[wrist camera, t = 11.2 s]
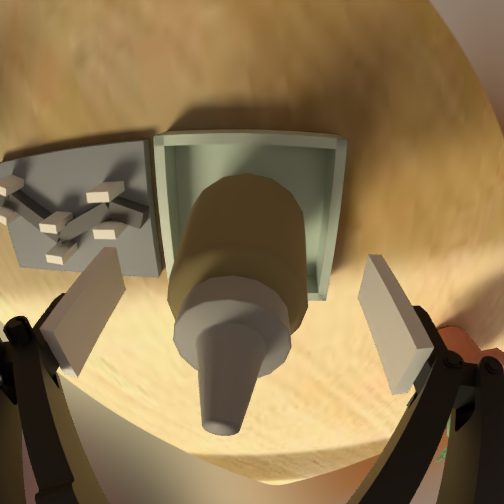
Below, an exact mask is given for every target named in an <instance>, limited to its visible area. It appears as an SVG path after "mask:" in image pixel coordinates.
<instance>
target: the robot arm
mask: <svg viewBox="0 0 504 504" xmlns="http://www.w3.org/2000/svg"><path fill="white" fill-rule="evenodd" d="M125 290H126V288H125V284H124V280H123V276H122V272H121V267H120V263H119V259H118V254H117V249H116V247H103V249H102V250H101V251H100V252H99V253H98V254H97V256H96V257H95V258H94V259H93V260H92V261H91V263H90V264H89V265H88V266H87V267H86V269H85V270H84V271H83V272H82V273H81V275H80V276H79V277H78V278H77V280H76V281H75V282H74V283H73V285H72V286H71V287H70V288H69V290H68V291H67V292H66V293H62V294H61V295H59V296H58V297H57V298H55V299H54V300H53V302H52V303H51V304H50V306H49V307H48V308H47V310H46V311H45V313H44V314H43V315H42V316H41V318H40V319H39V320H38V322H37V323H36V324H35V326H34V327H33V328H32V327H31V325H30V323H29V321H28V319H27V318H26V317H25V316H17V317H14V318H12V319H10V320H9V321H8V322H7V323H6V325H5V326H4V329H3V331H4V333H5V335H6V337H7V338H8V340H9V342H2V340H1V338H0V504H26V498H25V490H24V478H23V462H22V430H23V434H24V439H25V443H26V446H27V451H28V455H29V458H30V462H31V465H32V469H33V472H34V475H35V478H36V482H37V485H38V488H39V492H38V493H37V494H35V501H36V504H110V503H109V502H108V500H107V498H106V496H105V495H104V493H103V490H102V489H101V487H100V485H99V482H98V480H97V478H96V477H95V474H94V472H93V470H92V468H91V465H90V463H89V461H88V459H87V456H86V454H85V452H84V449H83V447H82V444H81V442H80V439H79V437H78V434H77V431H76V429H75V426H74V423H73V420H72V418H71V415H70V412H69V409H68V406H67V402H66V399H65V396H64V393H63V389H62V386H61V382H60V379H59V376H58V374H57V372H56V371H57V369H58V367H59V366H60V368H61V369H62V371H63V373H64V374H65V375H69V376H73V377H77V378H78V376H79V374H80V372H81V370H82V368H83V366H84V364H85V362H86V360H87V358H88V356H89V355H90V353H91V351H92V349H93V347H94V345H95V343H96V341H97V339H98V338H99V336H100V334H101V332H102V330H103V328H104V327H105V325H106V323H107V321H108V319H109V318H110V316H111V314H112V312H113V311H114V309H115V307H116V305H117V304H118V302H119V300H120V298H121V297H122V295H123V293H124V292H125ZM358 299H359V302H360V305H361V307H362V310H363V312H364V315H365V318H366V320H367V323H368V326H369V328H370V331H371V334H372V337H373V339H374V342H375V345H376V348H377V351H378V354H379V356H380V359H381V362H382V365H383V368H384V371H385V374H386V377H387V380H388V383H389V387H390V390H391V393H392V395H394V394H401V393H408V392H409V390H410V388H411V387H412V385H413V384H414V387H415V389H416V392H415V393H414V395H413V397H412V398H411V399H410V401H409V402H408V404H407V406H408V407H407V409H406V411H405V413H404V415H403V417H402V418H401V420H400V422H399V424H398V426H397V428H396V429H395V431H394V433H393V435H392V436H391V438H390V440H389V442H388V443H387V445H386V447H385V448H384V450H383V451H382V453H381V455H380V456H379V458H378V460H377V461H376V463H375V464H374V466H373V467H372V469H371V470H370V472H369V473H368V475H367V476H366V478H365V479H364V480H363V482H362V483H361V485H360V486H359V488H358V489H357V490H356V492H355V493H354V494H353V496H352V497H351V498H350V500H349V501H348V502H347V504H409V503H410V502H411V500H412V498H413V496H414V494H415V493H416V491H417V489H418V487H419V485H420V483H421V481H422V479H423V477H424V475H425V473H426V471H427V469H428V467H429V464H430V463H431V461H432V459H433V456H434V454H435V452H436V450H437V447H438V445H439V443H440V440H441V438H442V435H443V433H444V430H445V428H446V425H447V422H448V420H449V417H450V414H451V420H450V430H449V438H448V446H447V453H446V459H445V466H444V471H443V476H442V481H441V485H440V490H439V495H438V499H437V503H436V504H504V369H503V366H502V364H501V363H500V361H499V360H497V359H496V358H494V357H492V356H485V357H483V358H482V359H481V360H480V362H479V363H478V364H474V363H467V362H464V360H463V358H462V357H461V356H460V355H459V354H458V353H456V352H454V351H451V350H448V349H447V347H446V345H445V343H444V341H443V339H442V338H441V336H440V334H439V332H438V330H437V329H436V328H435V325H434V323H433V322H432V320H431V318H430V316H429V315H428V313H427V312H426V311H425V310H424V309H423V308H422V307H420V306H412V305H411V303H410V301H409V300H408V298H407V296H406V294H405V293H404V291H403V289H402V288H401V286H400V284H399V282H398V281H397V279H396V277H395V276H394V274H393V273H392V271H391V269H390V268H389V266H388V264H387V263H386V261H385V260H384V258H383V256H382V255H372V254H368V257H367V262H366V266H365V270H364V275H363V279H362V283H361V287H360V291H359V295H358Z"/></svg>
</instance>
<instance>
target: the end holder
mask: <svg viewBox="0 0 504 504" xmlns="http://www.w3.org/2000/svg"><path fill="white" fill-rule="evenodd" d="M153 139H154V157H155V171H156V184H157V195H158V205H159V215H160V224H161V233H162V241H163V249H164V256H165V264H166V271H167V277H168V284H169V277H170V274H171V270H172V267H173V264H174V260H175V257H176V254H177V250H178V247H179V244H180V241H181V238H182V235H183V231H184V228H185V225H186V222H187V219H188V216H189V213H190V210H191V208H192V206H193V205H194V203H195V202H196V200H197V198H198V197H199V195H200V194H201V192H202V191H203V190H204V189H205V188H207V187H208V186H210V185H211V184H213V183H215V182H216V181H218V180H219V179H221V178H222V177H227V176H233V175H239V174H245V173H249V174H254V175H258V176H263V177H267V178H271V179H273V180H274V181H276V182H277V183H279V184H280V185H281V186H283V187H284V188H286V189H287V190H288V191H290V192H291V193H292V195H293V196H294V198H295V200H296V201H297V203H298V205H299V206H300V208H301V210H302V211H303V217H304V226H305V236H306V259H307V291H308V300H314V301H326V297H327V292H328V286H329V281H330V275H331V269H332V263H333V257H334V250H335V244H336V237H337V230H338V223H339V216H340V208H341V200H342V192H343V183H344V174H345V164H346V153H347V141H348V139H346V138H344V137H342V136H340V135H338V134H328V133H316V132H302V131H285V130H257V129H209V130H181V131H166V132H163V133H160V134H158V135H155V136H153Z"/></svg>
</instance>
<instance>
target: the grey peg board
mask: <svg viewBox="0 0 504 504" xmlns="http://www.w3.org/2000/svg"><path fill="white" fill-rule="evenodd" d="M0 207H1V208H0V223H2V224H5V225H7V226H8V230H9V233H10V237H11V240H12V244H13V247H14V250H15V253H16V257H17V260H18V263H19V266H20V267H24V268H35V269H46V270H58V271H70V272H83V271H84V270H85V269H86V267H87V266H88V265H89V264H90V263H91V261H92V260H93V259H94V258H95V257H96V256H97V254H98V253H99V252H100V251H101V250H102V249H103V247H116V249H117V254H118V259H119V263H120V267H121V272H122V275H125V276H141V277H158V278H159V276H160V274H161V273H162V271H163V270H162V263H161V256H160V249H159V242H158V234H157V226H156V217H155V208H154V199H153V188H152V177H151V164H150V149H149V139H140V140H129V141H119V142H110V143H102V144H94V145H86V146H80V147H73V148H67V149H61V150H55V151H49V152H44V153H39V154H34V155H29V156H24V157H20V158H15V159H11V160H7V161H2V162H0Z"/></svg>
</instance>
